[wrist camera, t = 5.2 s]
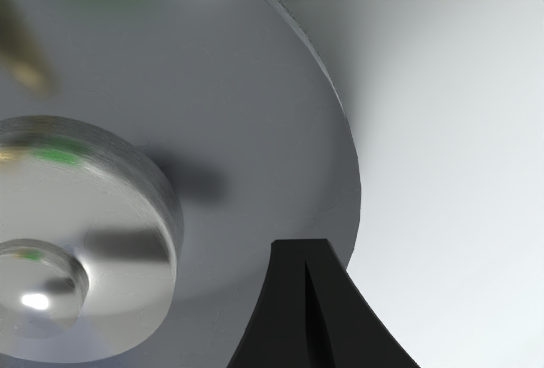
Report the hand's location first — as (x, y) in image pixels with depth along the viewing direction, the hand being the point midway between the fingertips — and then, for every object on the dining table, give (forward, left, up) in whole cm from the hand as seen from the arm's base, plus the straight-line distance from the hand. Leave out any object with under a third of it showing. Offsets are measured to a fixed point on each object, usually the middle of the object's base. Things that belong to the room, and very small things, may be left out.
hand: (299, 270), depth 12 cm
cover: (-5, +4, -2) cm, 7 cm away
